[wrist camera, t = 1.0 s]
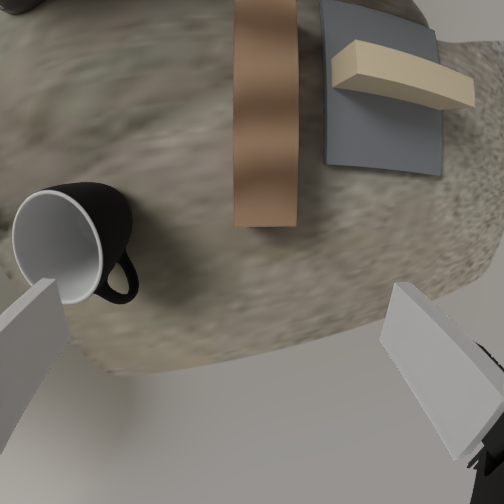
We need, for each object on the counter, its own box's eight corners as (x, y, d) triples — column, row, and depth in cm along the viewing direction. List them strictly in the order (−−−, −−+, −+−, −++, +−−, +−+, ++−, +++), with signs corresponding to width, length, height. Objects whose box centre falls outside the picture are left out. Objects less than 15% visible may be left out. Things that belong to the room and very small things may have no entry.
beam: (234, 18, 21) (235, -5, 16) (285, 20, 21) (295, -1, 17) (234, 213, 28) (234, 227, 23) (285, 213, 28) (296, 226, 24)
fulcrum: (319, 1, 20) (340, -30, 14) (430, 32, 21) (465, 17, 15) (323, 163, 26) (351, 169, 20) (435, 175, 27) (476, 185, 21)
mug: (55, 211, 26) (-3, 240, 17) (108, 155, 25) (52, 162, 15) (121, 294, 30) (86, 349, 20) (180, 248, 28) (157, 298, 19)
